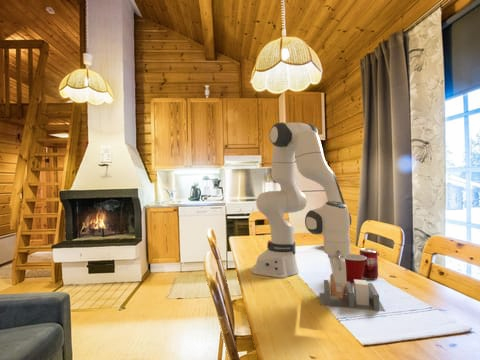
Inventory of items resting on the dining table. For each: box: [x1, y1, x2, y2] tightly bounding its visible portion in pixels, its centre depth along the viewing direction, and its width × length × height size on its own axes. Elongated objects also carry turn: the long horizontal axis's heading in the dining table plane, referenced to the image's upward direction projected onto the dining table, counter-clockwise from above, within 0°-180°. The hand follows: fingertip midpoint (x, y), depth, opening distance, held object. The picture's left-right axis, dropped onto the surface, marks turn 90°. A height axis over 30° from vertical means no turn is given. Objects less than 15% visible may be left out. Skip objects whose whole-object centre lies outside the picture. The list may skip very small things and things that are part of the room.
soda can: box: [359, 247, 379, 280], centre depth 117 cm, size 7×7×12 cm
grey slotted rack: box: [319, 279, 386, 312], centre depth 91 cm, size 20×10×6 cm, turn 75°
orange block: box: [329, 272, 346, 298], centre depth 92 cm, size 4×4×7 cm
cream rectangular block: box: [353, 279, 369, 306], centre depth 90 cm, size 4×4×7 cm
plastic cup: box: [345, 253, 367, 285], centre depth 110 cm, size 11×11×12 cm
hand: (337, 287), depth 92 cm, fingers closed on orange block, 5 cm apart
